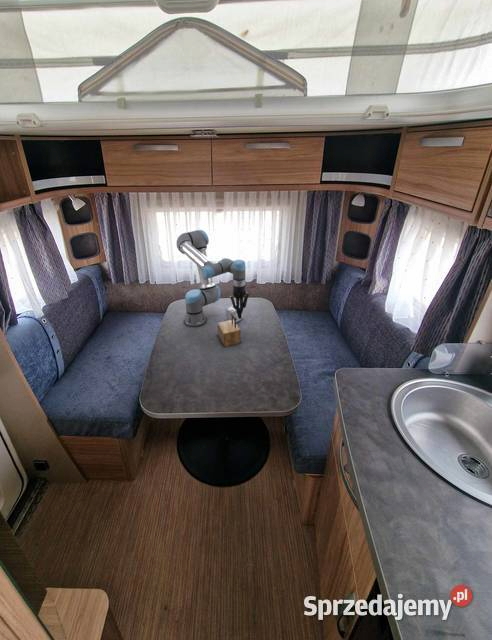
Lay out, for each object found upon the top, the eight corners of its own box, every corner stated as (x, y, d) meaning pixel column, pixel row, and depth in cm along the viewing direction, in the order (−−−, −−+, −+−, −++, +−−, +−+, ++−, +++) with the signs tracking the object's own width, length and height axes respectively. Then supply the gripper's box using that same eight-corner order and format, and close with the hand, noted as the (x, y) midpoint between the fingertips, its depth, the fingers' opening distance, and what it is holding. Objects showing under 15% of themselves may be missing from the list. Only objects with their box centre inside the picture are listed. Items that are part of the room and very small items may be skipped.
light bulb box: (236, 315, 214) (235, 303, 209) (242, 318, 209) (242, 306, 205) (226, 321, 207) (225, 308, 202) (232, 324, 202) (232, 311, 198)
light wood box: (224, 346, 180) (223, 323, 173) (218, 335, 192) (217, 313, 184) (240, 342, 183) (240, 320, 176) (233, 331, 195) (232, 310, 187)
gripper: (231, 289, 169) (232, 322, 178) (251, 285, 172) (251, 318, 182) (227, 284, 175) (228, 316, 185) (246, 280, 179) (246, 312, 189)
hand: (239, 317), depth 184 cm, fingers closed
